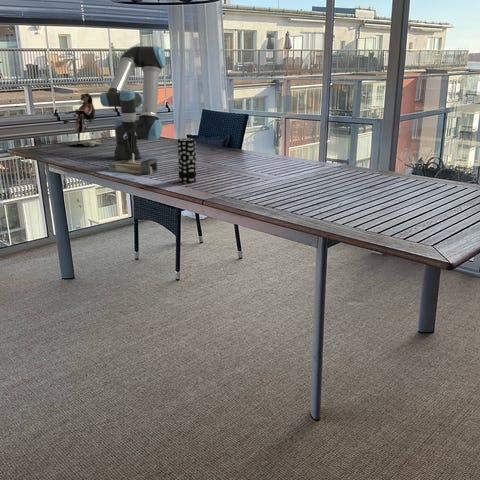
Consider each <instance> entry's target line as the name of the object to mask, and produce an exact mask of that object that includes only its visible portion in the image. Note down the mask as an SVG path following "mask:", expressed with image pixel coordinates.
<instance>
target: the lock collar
mask: <svg viewBox="0 0 480 480" xmlns="http://www.w3.org/2000/svg"><path fill="white" fill-rule="evenodd" d="M140 163H141V170H142V173H141V174H143V173H144V175H150V174H149V166H152V171H158V158H148V159H145V160H141V162H140Z"/></svg>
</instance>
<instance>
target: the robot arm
mask: <svg viewBox="0 0 480 480" xmlns="http://www.w3.org/2000/svg"><path fill="white" fill-rule="evenodd" d="M165 67H166V54H165V52H164V49H163V48H162V47H161V46H156V45H153V46H150V45H149V46H148V45H146V46H143V45H141V46H138V45H137V46H132V47H131V48H129V49H127V50H126V51H125V52H124V53H123V54H122V55H121V57H120V58H119V60H118V68H117V69H116V72H115V74H114V76H113V79H112V81H111V84H109V85H110V86H109V88H108V90H107V91H105V92H102V93H100V97H99V100H100V104H101V105H102V107H104V108H105V107H107V108H120V113H121V118H117V119H116V120H115V121H114V125H115V126H114V128H115V129H114V130H115V141H116V146H115V150H114V154H113V155H114V156H113V157H114V159H116V160H126V161H131V162H136V161H135V160H136V159H140V158H141V152H140V149H139V147H138V145H137V143H138V141H150V142H151V141H157V140H159V139H160V138H161V135H162V131H163V123H162V120H160V118H159V115H158V113H157V112H158V96H159V80H160V79H159V78H160V77H159V76H160V74H161V73H162V71H163V70H162V69H164V68H165ZM137 68H141V71H142V72H143V81H142V83H143V85H142V94H141V93H140V92H136V91H134V90H133V89H132V90H131V89H125V88H126V86H127V84H128V83H129V79H130V78H131V77H130V76H131V75H132V72H134V71H135V70H136V69H137ZM140 106H141V114H139V115H138V119H137V110H136V109H137V108H139V107H140Z"/></svg>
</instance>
